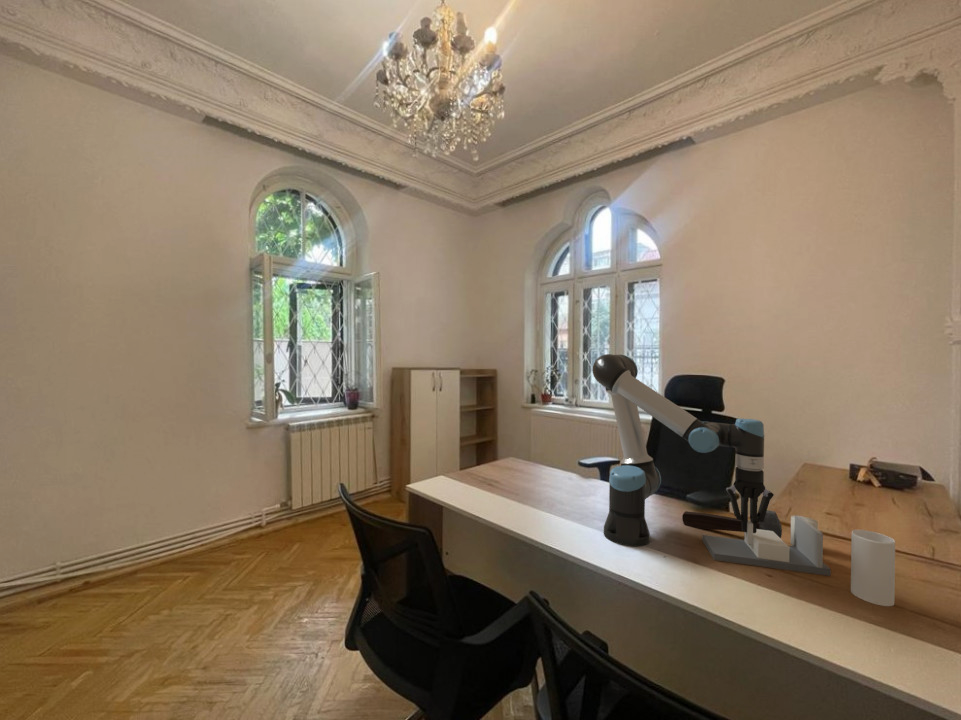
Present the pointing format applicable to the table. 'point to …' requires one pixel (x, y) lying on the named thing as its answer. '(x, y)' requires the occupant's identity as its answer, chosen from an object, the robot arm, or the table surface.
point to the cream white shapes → (809, 520)
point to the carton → (769, 546)
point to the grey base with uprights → (801, 559)
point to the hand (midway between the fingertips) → (748, 542)
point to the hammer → (730, 522)
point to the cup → (873, 567)
